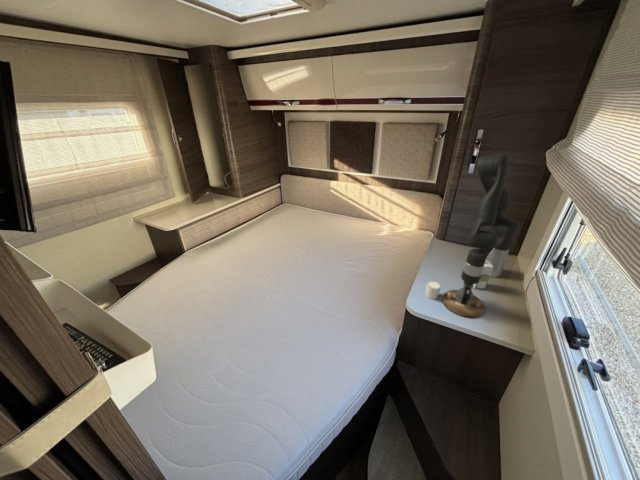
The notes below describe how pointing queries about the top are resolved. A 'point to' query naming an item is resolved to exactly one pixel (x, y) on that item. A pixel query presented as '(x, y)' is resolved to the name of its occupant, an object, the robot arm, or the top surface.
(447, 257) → the top surface
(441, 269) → the top surface
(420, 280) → the top surface
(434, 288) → the white cup
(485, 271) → the syrup box
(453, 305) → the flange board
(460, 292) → the dice cube
